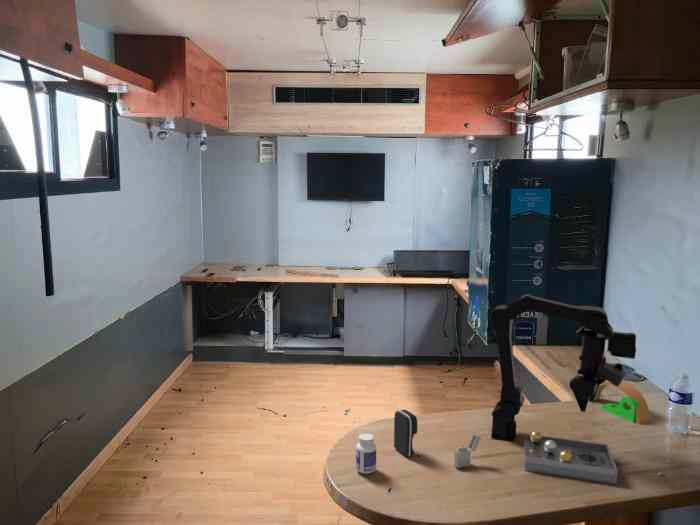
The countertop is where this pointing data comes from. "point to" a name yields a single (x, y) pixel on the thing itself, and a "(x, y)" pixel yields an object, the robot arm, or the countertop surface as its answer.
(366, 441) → the pill bottle
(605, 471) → the tray
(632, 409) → the mechanical part
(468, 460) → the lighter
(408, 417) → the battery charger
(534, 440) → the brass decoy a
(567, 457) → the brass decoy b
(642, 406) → the arch
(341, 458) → the countertop surface
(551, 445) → the steel ball
